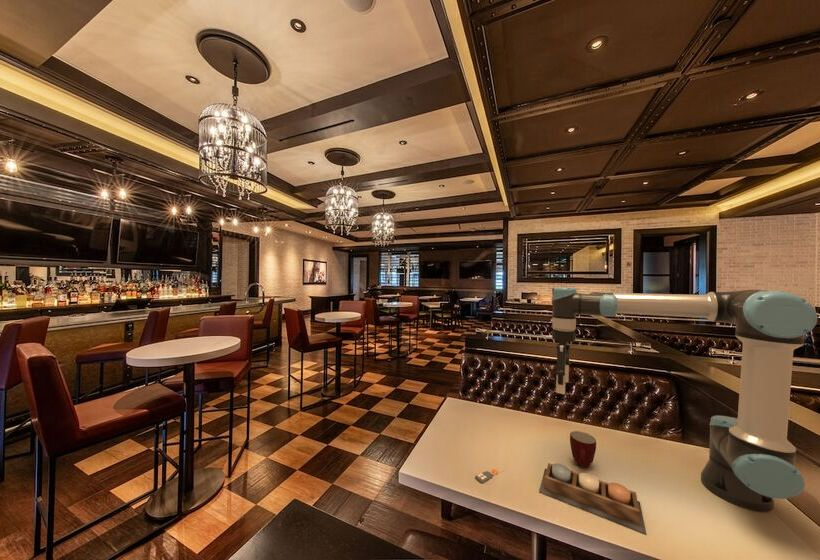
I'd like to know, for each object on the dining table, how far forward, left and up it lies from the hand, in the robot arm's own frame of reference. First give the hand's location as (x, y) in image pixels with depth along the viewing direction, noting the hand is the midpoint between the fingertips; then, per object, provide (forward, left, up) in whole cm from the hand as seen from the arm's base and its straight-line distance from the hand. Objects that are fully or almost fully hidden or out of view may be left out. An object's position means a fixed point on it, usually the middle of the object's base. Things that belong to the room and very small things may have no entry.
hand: (562, 387), depth 104 cm
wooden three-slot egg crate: (-9, +15, -27) cm, 32 cm away
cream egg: (-9, +15, -25) cm, 30 cm away
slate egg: (-1, +15, -25) cm, 29 cm away
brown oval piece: (-16, +15, -25) cm, 33 cm away
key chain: (+19, +22, -28) cm, 40 cm away
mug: (-7, -1, -27) cm, 28 cm away
